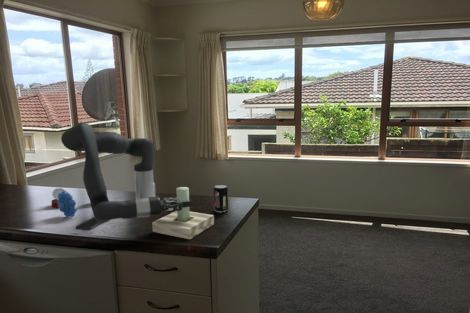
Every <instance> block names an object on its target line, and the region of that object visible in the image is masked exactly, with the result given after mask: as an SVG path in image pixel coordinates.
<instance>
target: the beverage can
mask: <svg viewBox="0 0 470 313" xmlns="http://www.w3.org/2000/svg"><path fill="white" fill-rule="evenodd" d="M213 209H214V210H213V211H215V212H216V213H218V212H219V214H222V212H224V213H227V212H228V210H229V188H228V186H227V185H225V184H216V185H214V188H213ZM226 211H227V212H226Z"/></svg>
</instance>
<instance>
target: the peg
mask: <svg viewBox="0 0 470 313" xmlns="http://www.w3.org/2000/svg"><path fill="white" fill-rule="evenodd" d="M176 198H177V202H186V201H190V188H189V187H187V186H180V187H176ZM177 207H179V206H177ZM190 212H191V211H190V207H184V208H182V210H179V211H177V219H178V221H181V222H187V221H189V220H190Z"/></svg>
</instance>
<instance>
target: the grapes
mask: <svg viewBox="0 0 470 313" xmlns="http://www.w3.org/2000/svg"><path fill="white" fill-rule="evenodd" d="M65 191H66V190H65ZM65 191H62V192H61V193H59V194H58V198H59V199H58V201H57V204H58V207H59V208H58V209H59V211H60V212H61V213H63V215H64V216H65V217H67V218H68V217H70V218H73V217H75V214H76V213H77V211H78V209H77V207H76V203H77V202H76V200H75V199H74V198H73V199H72V197H73V195H72V194H71V193H70V192H68V191H67V192H68V194H67V192H65ZM69 193H70V194H69Z"/></svg>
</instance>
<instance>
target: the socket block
mask: <svg viewBox="0 0 470 313" xmlns="http://www.w3.org/2000/svg"><path fill="white" fill-rule="evenodd" d="M214 224H215V215H214V214H208V213H201V212H194V211H190V220H189V221H187V222H181V221H178V219H177V211H175V212H170V214H167V215H164V216H163V217H161V218H159V219H158V218H157V219H156V220H155V221H152V233H157V234H162V235H166V236H173V237H177V238H182V239H187V240H191V239H193V238H194V237H196V236H198V235H199V234H201V233H202V232H204V231H205V230H207V229H209V228H211V227H212V226H214Z"/></svg>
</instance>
